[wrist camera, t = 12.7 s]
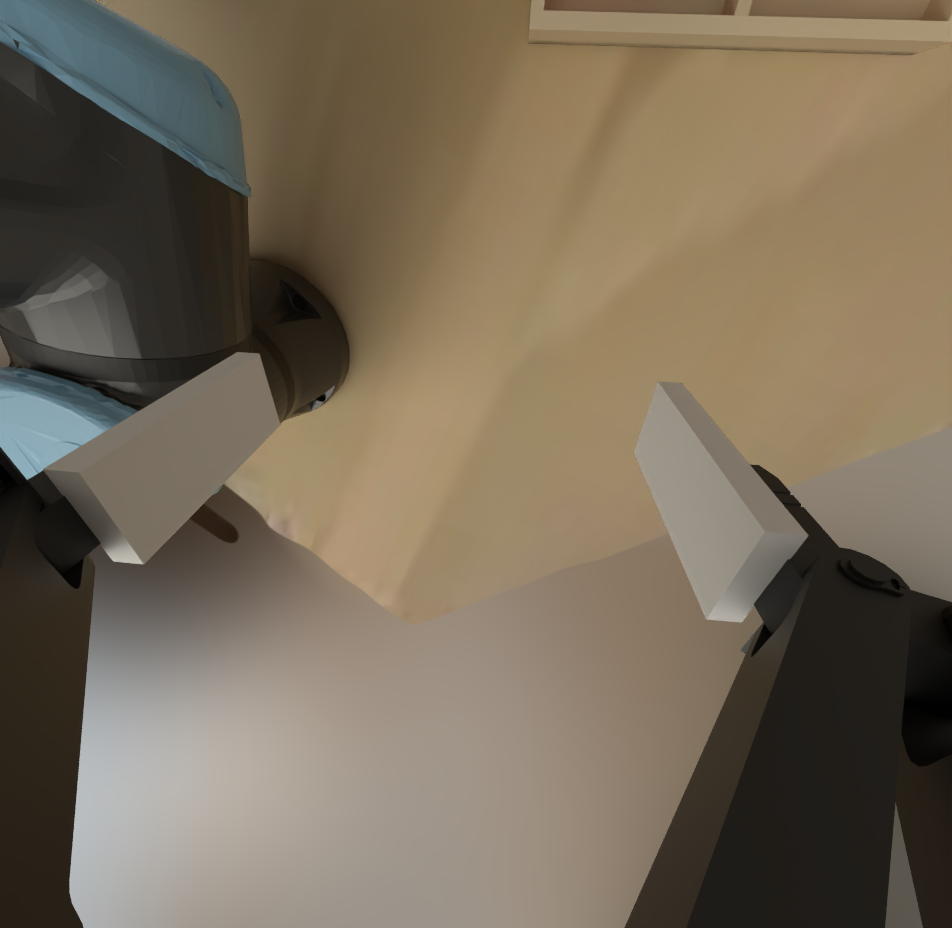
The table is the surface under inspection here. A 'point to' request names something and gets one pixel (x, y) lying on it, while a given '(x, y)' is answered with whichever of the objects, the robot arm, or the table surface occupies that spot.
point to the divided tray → (747, 24)
